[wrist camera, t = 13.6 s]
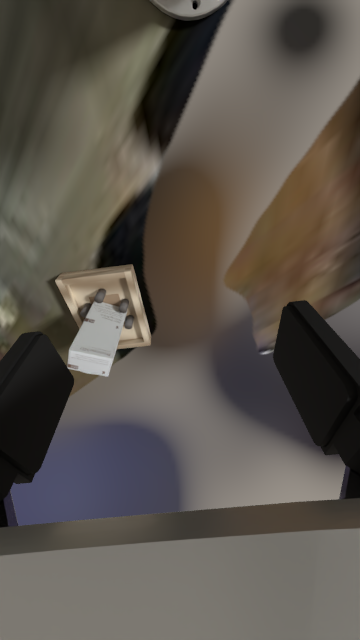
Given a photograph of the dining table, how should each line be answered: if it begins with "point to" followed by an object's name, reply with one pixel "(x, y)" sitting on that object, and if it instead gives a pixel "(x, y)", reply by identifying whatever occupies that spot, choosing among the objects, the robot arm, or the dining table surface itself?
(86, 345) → the skincare box
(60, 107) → the dining table surface
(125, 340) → the pin tray
